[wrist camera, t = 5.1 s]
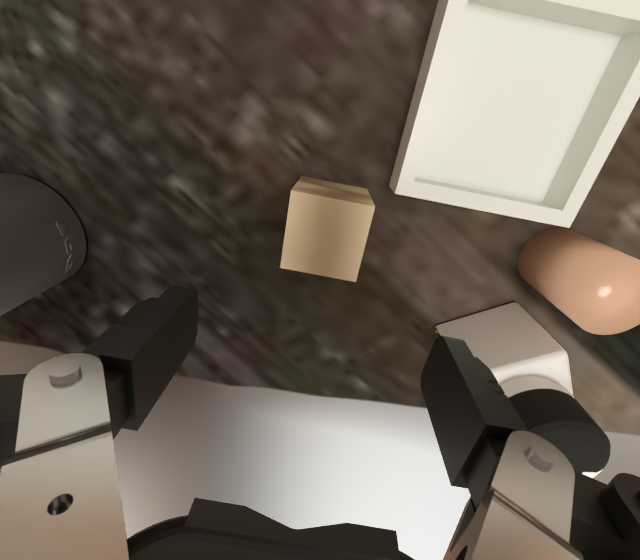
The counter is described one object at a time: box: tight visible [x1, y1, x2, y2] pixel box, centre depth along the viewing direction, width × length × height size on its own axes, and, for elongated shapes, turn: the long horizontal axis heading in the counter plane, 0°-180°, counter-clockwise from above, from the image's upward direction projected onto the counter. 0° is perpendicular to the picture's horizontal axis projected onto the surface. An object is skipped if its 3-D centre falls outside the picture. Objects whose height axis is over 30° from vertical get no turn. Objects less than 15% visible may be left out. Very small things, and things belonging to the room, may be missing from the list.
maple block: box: [280, 176, 375, 282], centre depth 23 cm, size 5×5×6 cm
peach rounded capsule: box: [517, 227, 640, 335], centre depth 23 cm, size 5×5×7 cm
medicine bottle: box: [435, 302, 610, 478], centre depth 24 cm, size 7×7×12 cm
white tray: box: [389, 0, 640, 228], centre depth 20 cm, size 12×12×3 cm
